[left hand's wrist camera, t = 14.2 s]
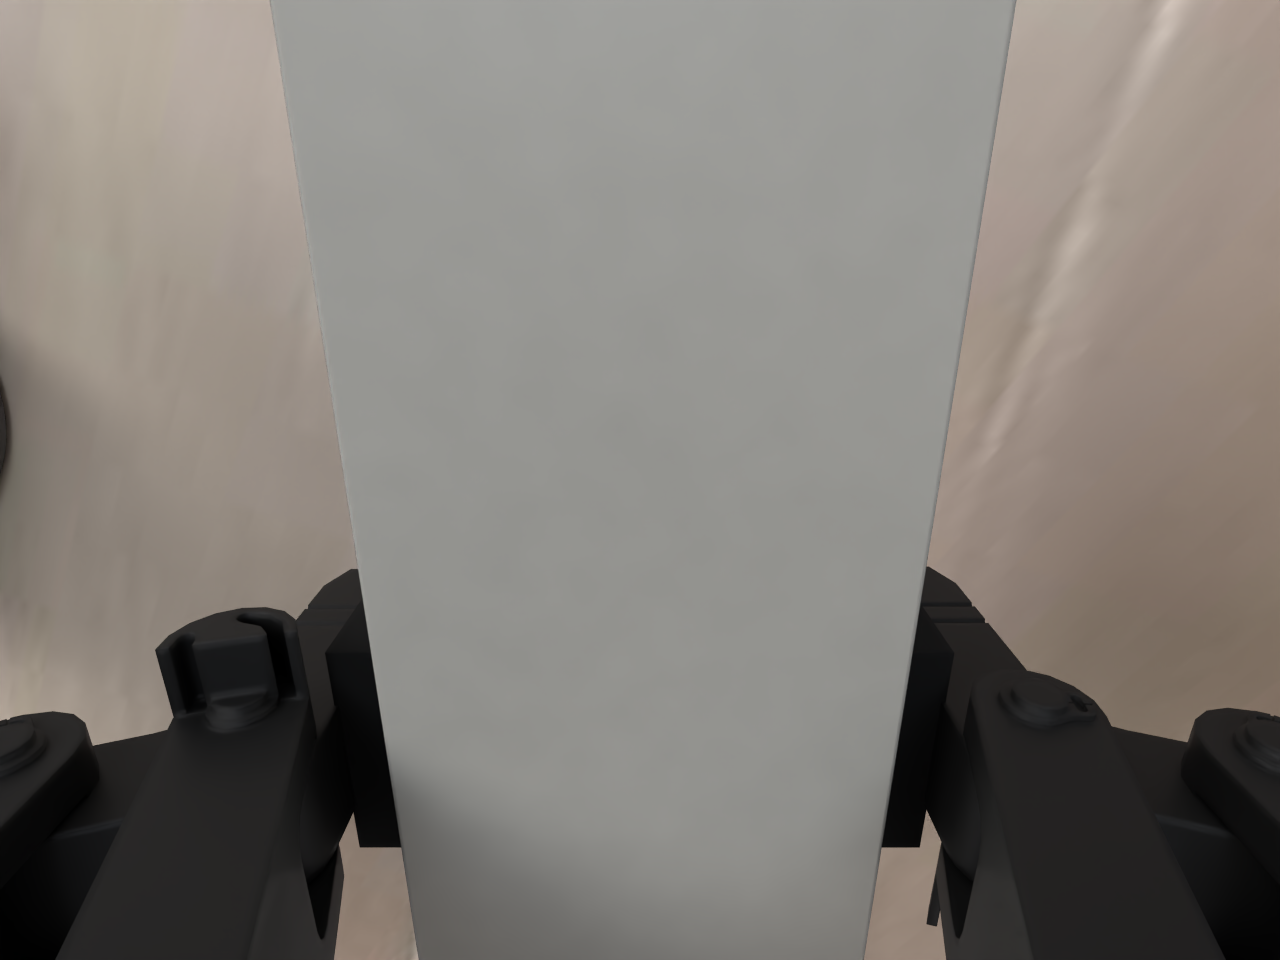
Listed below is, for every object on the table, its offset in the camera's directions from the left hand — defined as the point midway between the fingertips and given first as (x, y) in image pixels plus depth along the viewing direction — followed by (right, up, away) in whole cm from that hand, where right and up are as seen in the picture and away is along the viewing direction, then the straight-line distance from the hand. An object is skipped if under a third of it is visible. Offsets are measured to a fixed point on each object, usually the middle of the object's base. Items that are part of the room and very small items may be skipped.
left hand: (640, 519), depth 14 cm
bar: (0, +9, -3) cm, 10 cm away
